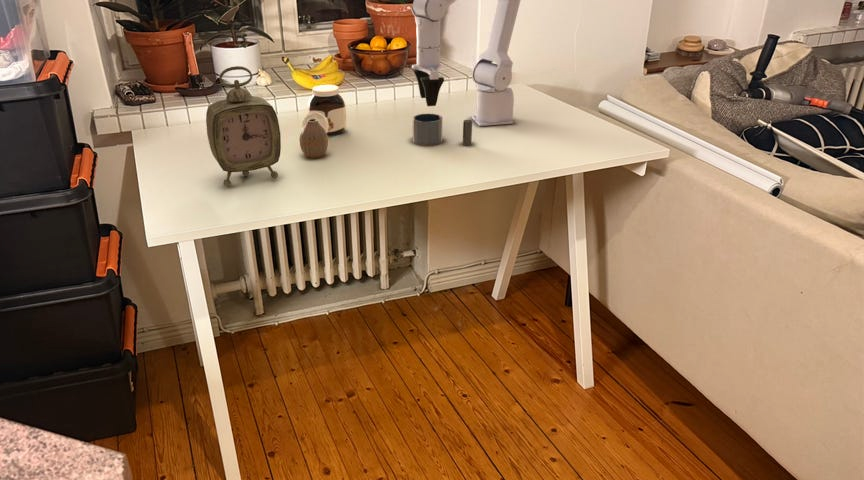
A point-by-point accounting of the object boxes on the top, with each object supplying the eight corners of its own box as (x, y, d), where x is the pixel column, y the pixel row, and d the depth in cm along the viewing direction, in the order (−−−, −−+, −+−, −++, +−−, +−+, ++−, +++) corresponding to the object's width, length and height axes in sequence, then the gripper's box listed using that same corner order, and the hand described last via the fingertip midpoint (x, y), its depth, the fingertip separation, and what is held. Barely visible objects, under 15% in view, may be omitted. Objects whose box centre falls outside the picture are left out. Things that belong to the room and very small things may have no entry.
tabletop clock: (220, 191, 152) (203, 74, 140) (212, 177, 159) (195, 66, 147) (285, 179, 157) (273, 66, 145) (274, 167, 164) (262, 58, 152)
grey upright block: (470, 142, 176) (470, 119, 173) (472, 145, 174) (473, 121, 171) (461, 143, 176) (462, 119, 173) (463, 146, 174) (464, 122, 171)
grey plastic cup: (438, 135, 182) (438, 112, 179) (445, 144, 175) (445, 121, 172) (410, 137, 181) (410, 114, 178) (416, 146, 174) (416, 123, 171)
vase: (333, 151, 172) (331, 117, 168) (322, 161, 167) (319, 125, 162) (307, 149, 174) (305, 115, 170) (296, 158, 169) (292, 123, 165)
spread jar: (345, 125, 191) (342, 83, 185) (350, 138, 181) (348, 94, 175) (301, 129, 189) (297, 86, 183) (304, 142, 179) (300, 97, 174)
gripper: (406, 41, 176) (407, 95, 182) (418, 53, 163) (418, 110, 170) (434, 39, 176) (433, 93, 183) (447, 51, 164) (446, 108, 170)
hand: (428, 101), depth 176 cm, fingers open, 7 cm apart
